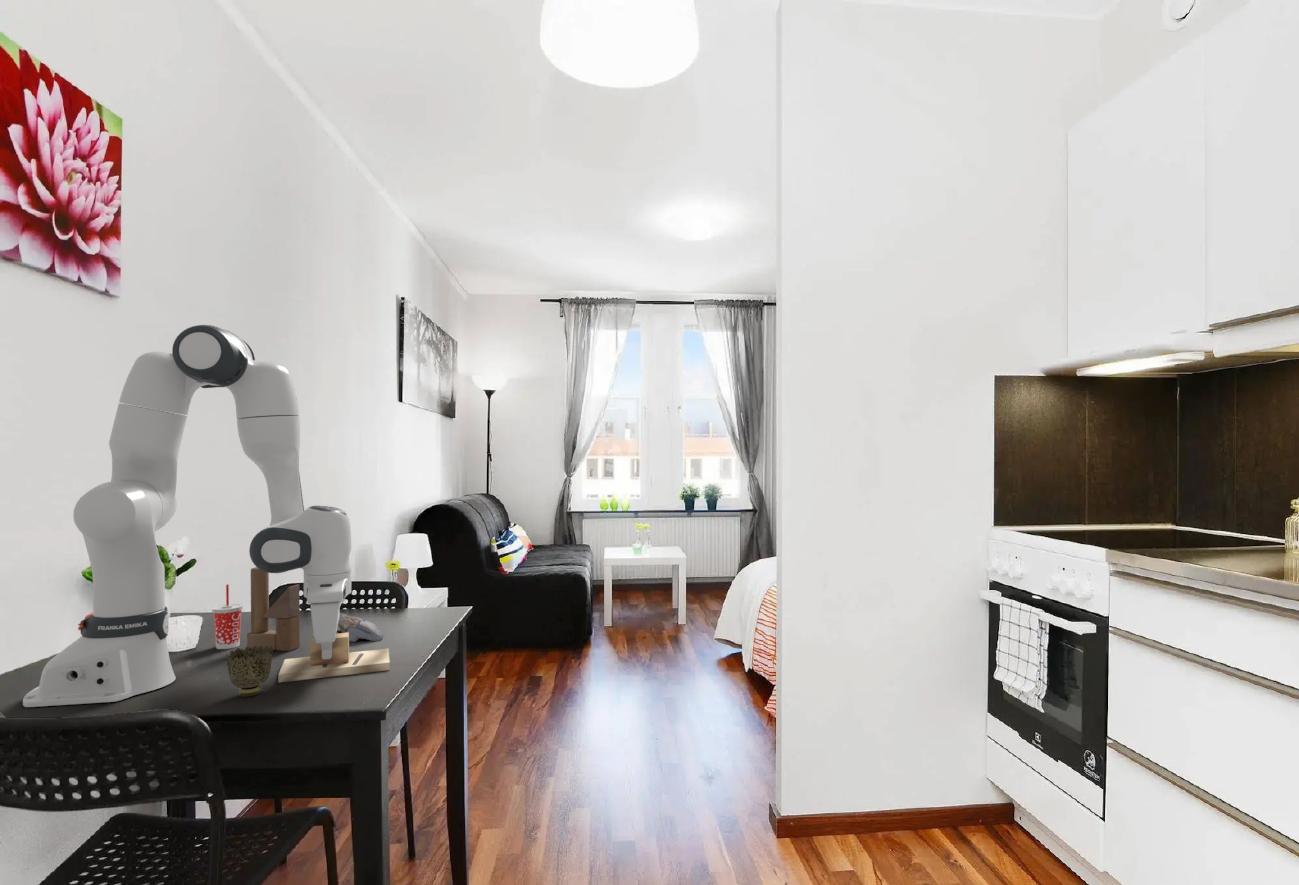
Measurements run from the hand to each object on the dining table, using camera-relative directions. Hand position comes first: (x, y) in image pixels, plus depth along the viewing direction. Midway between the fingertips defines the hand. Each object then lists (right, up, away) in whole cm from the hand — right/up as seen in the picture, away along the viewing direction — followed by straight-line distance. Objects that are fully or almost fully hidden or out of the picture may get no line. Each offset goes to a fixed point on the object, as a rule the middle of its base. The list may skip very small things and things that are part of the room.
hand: (327, 654), depth 146 cm
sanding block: (0, -1, 0) cm, 1 cm away
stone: (-5, -4, +27) cm, 28 cm away
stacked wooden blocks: (-19, -4, +16) cm, 25 cm away
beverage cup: (-31, -4, +18) cm, 36 cm away
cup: (-8, -3, -15) cm, 17 cm away
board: (+2, -3, +1) cm, 3 cm away
